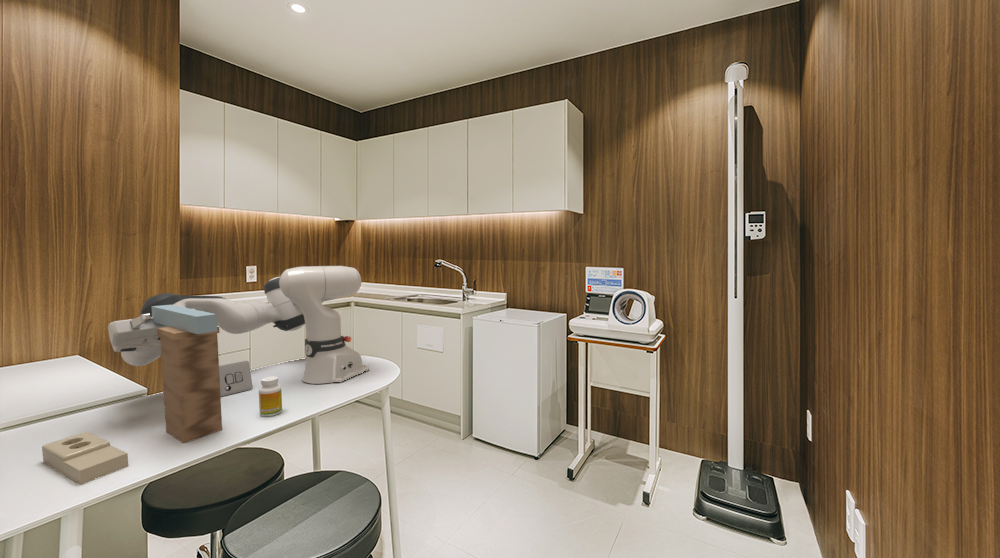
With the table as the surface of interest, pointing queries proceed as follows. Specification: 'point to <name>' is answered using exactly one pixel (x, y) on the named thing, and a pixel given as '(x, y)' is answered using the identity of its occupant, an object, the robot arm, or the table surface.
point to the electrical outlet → (84, 457)
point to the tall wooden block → (190, 383)
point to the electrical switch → (235, 378)
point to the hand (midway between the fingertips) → (170, 313)
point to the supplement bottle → (270, 397)
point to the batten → (185, 318)
